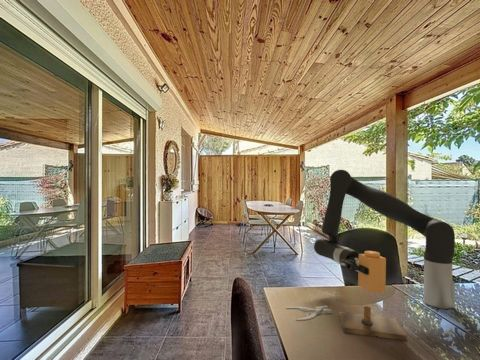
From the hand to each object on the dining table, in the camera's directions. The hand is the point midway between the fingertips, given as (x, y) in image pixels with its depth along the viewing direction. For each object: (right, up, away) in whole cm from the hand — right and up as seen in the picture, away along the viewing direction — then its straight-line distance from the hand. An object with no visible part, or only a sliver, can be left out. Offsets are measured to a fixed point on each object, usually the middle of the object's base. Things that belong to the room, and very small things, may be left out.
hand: (376, 271), depth 90 cm
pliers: (-20, -18, +8) cm, 28 cm away
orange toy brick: (-1, -7, +2) cm, 7 cm away
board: (-3, -18, -1) cm, 18 cm away
